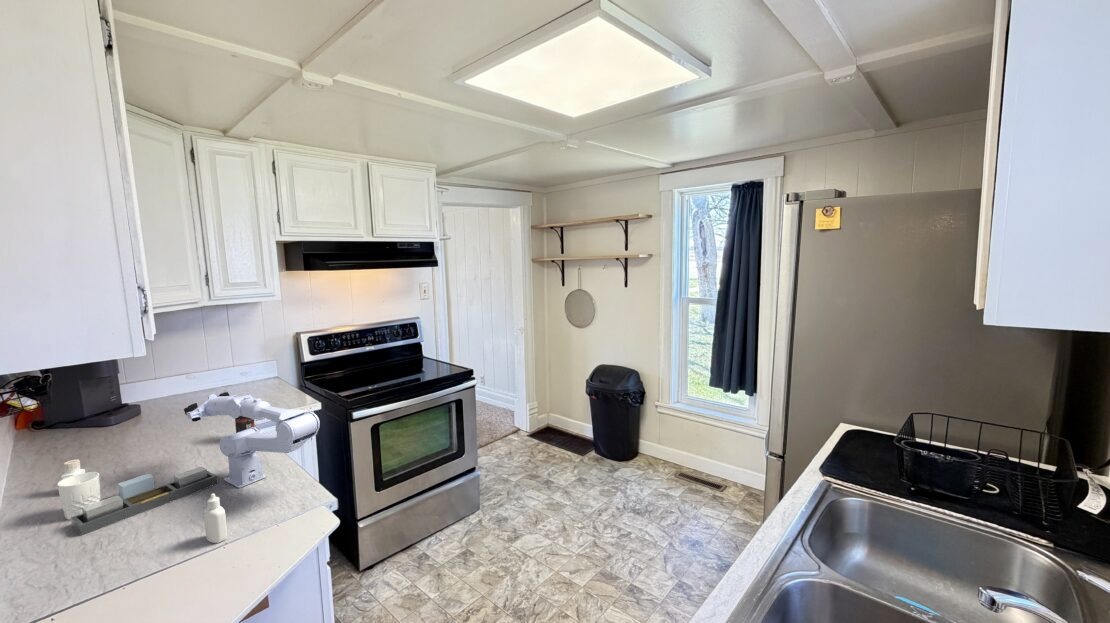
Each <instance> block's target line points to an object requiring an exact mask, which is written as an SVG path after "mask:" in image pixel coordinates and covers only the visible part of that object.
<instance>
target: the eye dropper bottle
mask: <svg viewBox="0 0 1110 623" xmlns="http://www.w3.org/2000/svg"><path fill="white" fill-rule="evenodd" d="M206 502H207V508H205V509H204V511H203V520H204V529H205V530H204V531H205V539H206V540H207V541H208V542H209V543H214V544H219V543H222V542H223V541H225V540H227V539H228V528H227V527H228V526H227V519H226V518H227V516H226V510H225V508H224V507H223V506H221V503H220V502H221V501H220V496H216V494H215V493H211V494H210V498H209V499H207V501H206Z"/></svg>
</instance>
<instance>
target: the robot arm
mask: <svg viewBox="0 0 1110 623" xmlns="http://www.w3.org/2000/svg"><path fill="white" fill-rule="evenodd" d="M183 411H184V414H185V415H186V416H187V419H189V420H190V419H191V421H192V422H199V421H201V420H202V418H203V417H216V416H229V417H231V418H232V419H235V418H237V417H239V416H244V417H248V418H252V419H254V421H255V420H256V421H263V420H265V419H266V420H270V421H272V422H275V432H276V433H266V432H265V433H264V431H263V430H262V429H258V428H256V426H255V427H251V428H249V429H247V430H244V431H241V432H238V433H236V432H235V433H233V434H230V435H226V436H223V437H221V438H220V440H219V450H220V452H221V453H222V454H223V455H224V456H226V457H227V459H228V473H229V476H228V477H224V479H223V481H225V482H227V483H229V484H231V485H232V486H234V487H236V488H239V489H240V488H243V487H245V486H248V485H251V484H253V483H255V482H258V481H260V480H263V479H265V478H267V476H266V475H265V474H264V473H263V464H262V459H261V457H259V456H258V455H257V453H256V452H265V453H277V454H278V453H280V454H281V453H282V454H291V453H292V452H294V451H296V450H298V449H300V448H301V447H302V446H304V444H306V442H308V441H309V440H311V439H312V438H313V437H315V436H317V435H318V432H319V429H320V427H321V426H320V424H321V423H320V418H319V417H318V415H317V414H316V413H315V412H312V411H307V410H304V409H288V408H283V407H276V406H271V404H270V403H269V402H268V401H265V400H262V398H256V397H254V396H253V395H251V393H247V394H245V395H242V396H238V394H233V395H230V394H229V391H224V392H221V393H220V394H218V395H216V393H212V394H208V395H207V399H206V400H205V401H203V402H202V403H201V404H200V405H199V406H198V403H197V402H195V403H192V404H190V405H188V406H187V407H185V408H183Z"/></svg>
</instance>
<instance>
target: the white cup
mask: <svg viewBox="0 0 1110 623" xmlns="http://www.w3.org/2000/svg"><path fill="white" fill-rule="evenodd" d="M56 485H57V489H58V490H57V491H58V493H59V494H58V495H59V499H60V503H61V506H62V510H63V514H64V518H65V519H66V520H70V521H71V517H74V516H77V515H80V514H83V512H82V507H84V506H87V505H90V504H93V503H96V502H99V501H101V482H100V473H99V472H96V471H90V472H89V471H88V472H85V473H81V474H77V475H73V476H70V477H67V478H65V479H63V480H61V479H60V481H58V482H57V484H56Z"/></svg>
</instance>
